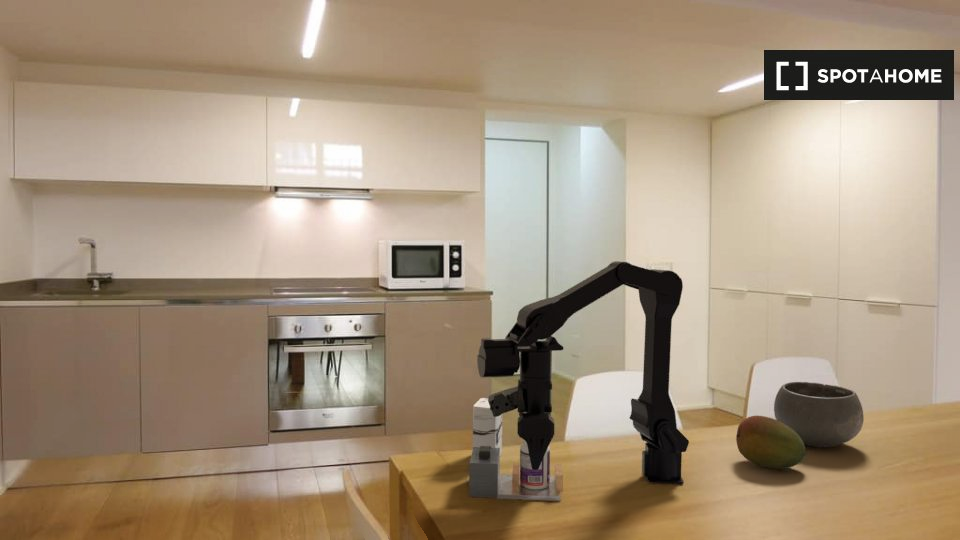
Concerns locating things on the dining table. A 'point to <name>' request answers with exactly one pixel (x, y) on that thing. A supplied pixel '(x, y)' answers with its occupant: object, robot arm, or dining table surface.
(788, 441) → the fruit
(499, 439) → the ink box
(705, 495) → the dining table surface
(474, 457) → the grey block with slats
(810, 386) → the bowl
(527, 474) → the pill bottle
